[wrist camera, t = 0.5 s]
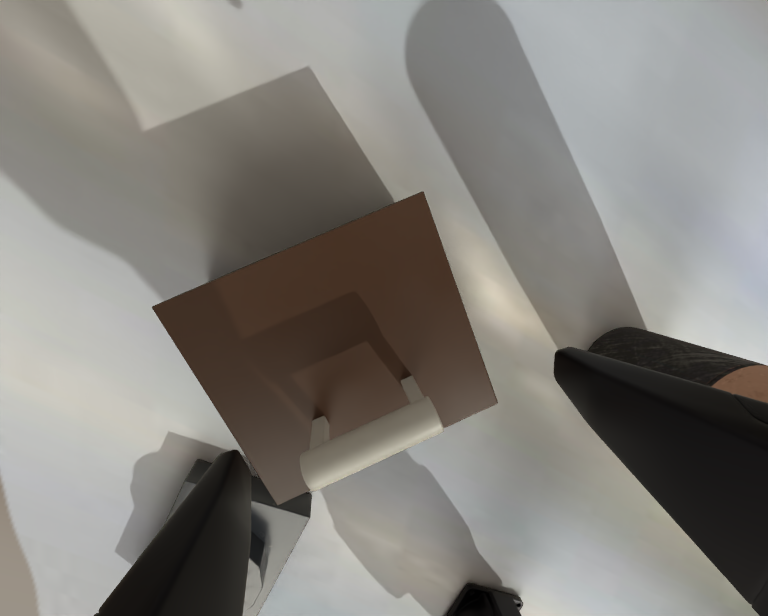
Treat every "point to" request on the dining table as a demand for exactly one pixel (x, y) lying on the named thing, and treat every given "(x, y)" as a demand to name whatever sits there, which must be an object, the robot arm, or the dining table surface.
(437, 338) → the lid
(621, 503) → the dining table surface
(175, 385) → the dining table surface
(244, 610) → the control block
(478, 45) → the dining table surface
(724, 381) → the travel mug
